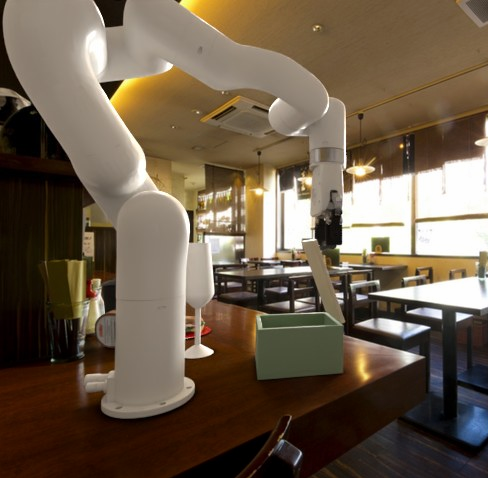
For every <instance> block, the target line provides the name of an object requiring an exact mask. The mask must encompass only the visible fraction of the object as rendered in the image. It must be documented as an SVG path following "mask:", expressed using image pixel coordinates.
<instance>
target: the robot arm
mask: <svg viewBox="0 0 488 478" xmlns="http://www.w3.org/2000/svg"><path fill="white" fill-rule="evenodd" d="M123 8H124V9H123V15H122V16H123V17H122V25H118V26H111V27H110V26H109V27H108V26H107V27H106V26H105V22H104V21H105V20H104V19H103V16H102V14H101V11H100V9H99V7H98V6H97V4H96V2H95V0H6V1H5V5H4V8H3V14H2V33H3V39H4V45H5V49H6V54H7V56H8V60H9V62H10V64H11V67H12V69H13V71H14V73H15V76H16V78H17V79H18V81H19V83H20V85H21V87H22V88H23V90H24V92H25V94H26V95H27V97H28V98H29V100H30V101H31V103H32V104H33V106H34V107H35V108H36V110H37V111H38V113H39V115H40V117H41V118H42V119H43V121H44V122H45V124H46V126H47V127H48V129H49V130H50V132H51V133H52V135H53V136H54V137H55V139H56V140H57V141H58V143H59V144H60V146H61V147H62V149H63V151H64V152H65V153H66V155H67V157H68V158H69V160H70V163H71V165H72V168H73V170H74V172H75V174H76V176H77V178H78V179H79V180H80V182H81V184H82V185H83V186H84V187H85V189H86V191H87V192H88V194H89V195H90V196H91V198H92V199H93V201H94V202H95V204H96V205H97V206H98V208H99V210H101V211H102V213H103V215H104V216H105V217H106V219H107V220H108V221H109V223H110V224H111V226H112V227H113V229H115V232H116V267H115V269H116V271H115V276H116V277H115V278H116V334H115V348H114V370H110V371H109V372H108V373H89V374H88V373H87V374H86V375H85V376H84V378H83V381H82V386H83V389H84V392H85V393H86V394H89V393H91V394H92V393H97V392H102V393H103V394H104V395H103V396H102V397H101V400H100V401H101V402H100V410H101V412H102V413H103V414H104V415H106V416H108V417H111V418H115V419H121V420H122V419H123V420H130V419H132V420H133V419H134V420H135V419H143V418H148V417H153V416H158V415H161V414H165V413H167V412H171V411H173V410H175V409H178V408H180V407H182V406H183V405H184V404H186V403H188V401H190V400H191V399H192V398H193V396H194V394H195V390H196V386H195V382H194V380H192V379H191V378H189V377H186V376H185V366H186V365H185V363H186V358H185V351H186V338H185V316H186V311H187V309H186V307H187V306H186V304H187V302H186V266H187V254H188V245H189V243H190V233H191V230H190V219H189V215H188V213H187V210H186V208H185V207H184V206H183V204H182V203H181V201H179V200H178V199H177V198H176V197H175V196H173V195H171V194H169V193H167V192H164V191H160V190H159V189H158V187H157V185H156V184H155V183H154V181H153V180H152V178H151V176H150V175H149V173H148V172H147V170H146V168H147V160H146V156H145V153H144V150H143V148H142V147H141V145H140V143H138V141H137V139H136V138H135V137H134V136H133V133H131V132H130V130H129V129H128V127H127V126H126V124H125V122H124V121H123V120H122V118H121V116H120V115H119V114H118V112H117V110H116V109H115V107H114V106H113V104H112V103H111V101H110V99H109V98H108V96H107V94H106V93H105V91H104V89H103V88H102V86H101V83H107V82H115V81H125V80H132V79H139V78H146V77H151V76H152V77H153V76H157V75H160V74H163V73H167V72H168V71H169V70H171V69H172V68H173V66H174V67H176V68H178V69H179V70H181V71H182V72H184V73H186V74H187V75H189V76H191V77H193V78H194V79H196V80H197V81H199V82H201V83H203V84H204V85H205V86H208V88H211V89H212V90H214V91H221V92H222V91H233V90H240V89H252V90H258V91H261V92H265V93H268V94H270V95H272V96H274V97H276V98H277V99H276V100H274V102H273V103H272V104H271V106H270V107H269V110H268V115H267V117H268V121H269V125H270V126H271V128H272V129H273V130H274V131H275V132H277V133H278V134H281V135H283V136H288V137H308V164H309V165H308V170H309V171H311V172H312V176H311V184H310V185H311V186H310V208H309V209H310V210H309V211H310V212H309V213H310V214H309V215H310V217H311V218H314V219H315V220H314V239H317V242H318V245H321V243H322V242H323V241H325V244H326V245H337V246H342V245H343V223H344V222H343V221H344V220H343V216H342V215H343V211H344V203H345V201H344V200H345V197H344V195H345V194H344V192H345V191H344V174H343V171H345V170H346V169H347V155H346V154H347V152H346V147H347V142H346V140H347V139H346V138H347V137H346V135H347V130H346V129H347V127H346V125H347V124H346V122H347V120H346V118H347V117H346V114H347V113H346V111H347V110H346V105H345V104H344V102H343V101H341V100H340V99H339V98H335V97H330V96H329V94H328V90H327V89H326V87H325V86H324V84H323V83H322V82H321V80H320V79H318V77H316V75H314V74H313V73H312V72H311V71H309V70H308V69H307V68H305V67H303V65H301V64H300V63H298V62H297V61H296V60H294V59H292V58H291V57H289V56H287V55H285V54H283V53H280V52H277V51H274V50H270V49H266V48H262V47H259V46H253V45H247V44H246V45H245V44H241V43H238V42H235V41H234V40H232V39H231V38H230V37H228V36H227V35H225V34H224V33H222V32H221V31H220V30H218V29H217V28H216V27H214V26H212V25H211V24H209V23H208V22H207V21H205V20H203V19H202V18H201V17H199V16H198V15H196V13H193V12H192V11H191V10H189V9H188V8H187V7H185V6H183V5H182V4H181V3H180V2H178V1H176V0H126V1H125V4H124V7H123Z"/></svg>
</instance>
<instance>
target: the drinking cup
mask: <svg viewBox="0 0 488 478" xmlns="http://www.w3.org/2000/svg"><path fill="white" fill-rule="evenodd" d="M100 286H102V296H103V297H102V298H103V309H104V314H105V313H107V312H109V311H112V310H116V277H114V278H110V279H108V280H106V281H104V282H102V283H101V284H100Z"/></svg>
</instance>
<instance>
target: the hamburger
mask: <svg viewBox="0 0 488 478" xmlns="http://www.w3.org/2000/svg"><path fill="white" fill-rule="evenodd" d="M205 324H206V322H205V321H204V319H203V318H202V317H201V336H204V335H207V334H208V333H210V332H211V330H212V329H211V328H210V327H209V326H205ZM192 338H195V315H194V316H191V315H185V339H192Z"/></svg>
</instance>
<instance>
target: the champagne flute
mask: <svg viewBox="0 0 488 478" xmlns="http://www.w3.org/2000/svg"><path fill="white" fill-rule="evenodd" d="M212 258H213V257H212V245H211V242H189V245H188V254H187V266H186V304H188V306H190V307H191V308H193V309H194V317H195V337H194V345H191V346H190V347H189V348H187V349H185V359H200V358H201V359H202V358H206V357H209V356H212V354H214V350H213V349H211V348H209V347H208V346H205V345H203V344H201V336H202V335H201V318H202V308H204V307H205V306H206V305H207V304H208V303H209V302H210V301H211V300H212V299H213V297H214V295H215V282H214V281H215V280H214V269H213V259H212Z"/></svg>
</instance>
